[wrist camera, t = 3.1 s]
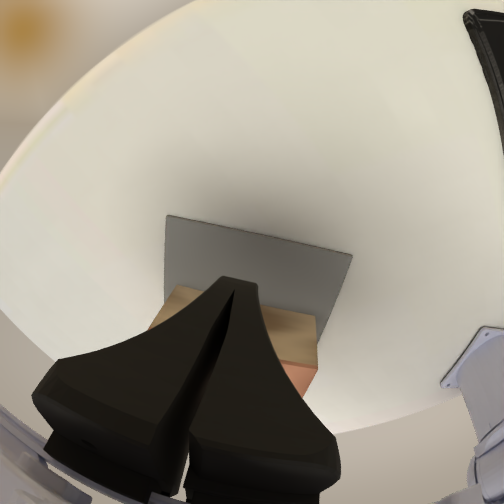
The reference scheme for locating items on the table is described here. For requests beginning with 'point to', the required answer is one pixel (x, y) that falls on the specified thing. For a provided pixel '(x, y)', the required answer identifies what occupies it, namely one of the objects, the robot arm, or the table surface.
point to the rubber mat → (254, 266)
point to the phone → (490, 54)
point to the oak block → (279, 330)
